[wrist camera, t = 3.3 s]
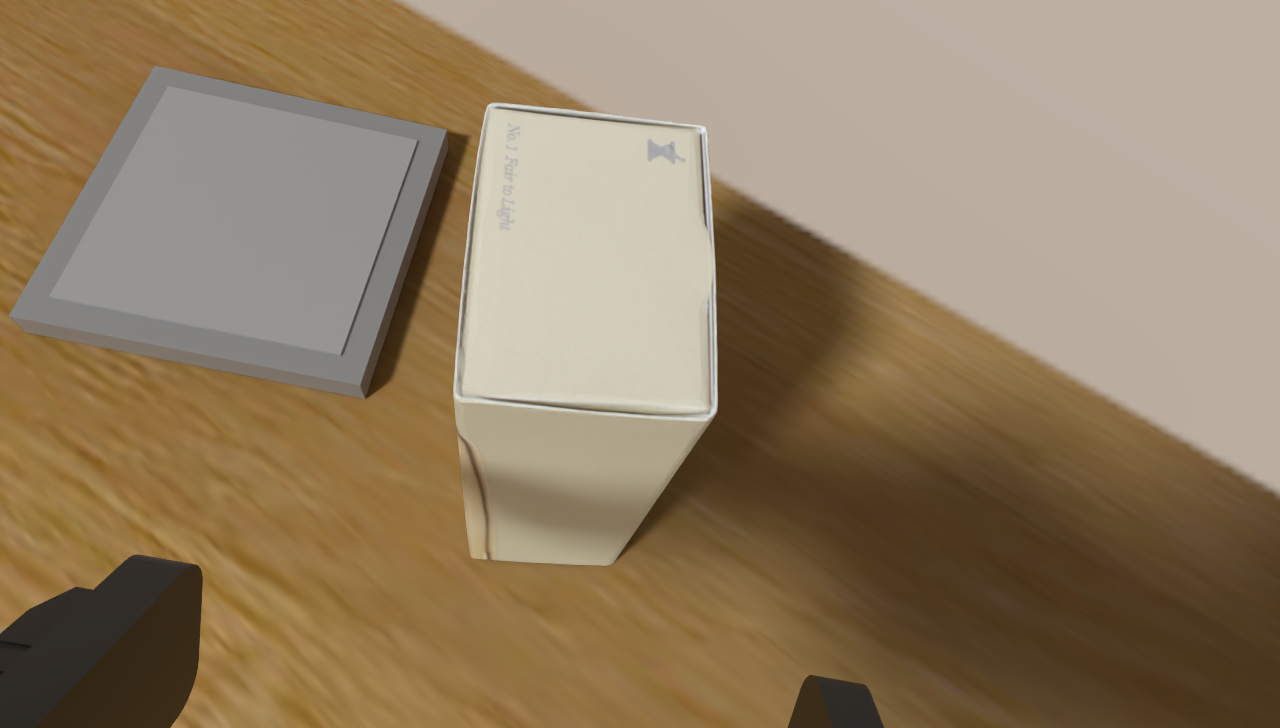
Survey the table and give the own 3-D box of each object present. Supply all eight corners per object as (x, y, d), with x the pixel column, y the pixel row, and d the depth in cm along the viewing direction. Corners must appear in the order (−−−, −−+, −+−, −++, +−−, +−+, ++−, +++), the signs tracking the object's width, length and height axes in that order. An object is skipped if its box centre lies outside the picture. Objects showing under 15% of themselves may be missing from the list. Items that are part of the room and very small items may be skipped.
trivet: (448, 148, 29) (446, 127, 28) (365, 398, 25) (359, 383, 24) (165, 87, 29) (153, 63, 28) (26, 332, 24) (6, 314, 23)
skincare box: (488, 369, 26) (477, 86, 15) (627, 378, 26) (712, 114, 16) (467, 569, 23) (436, 399, 12) (623, 575, 24) (723, 418, 13)
